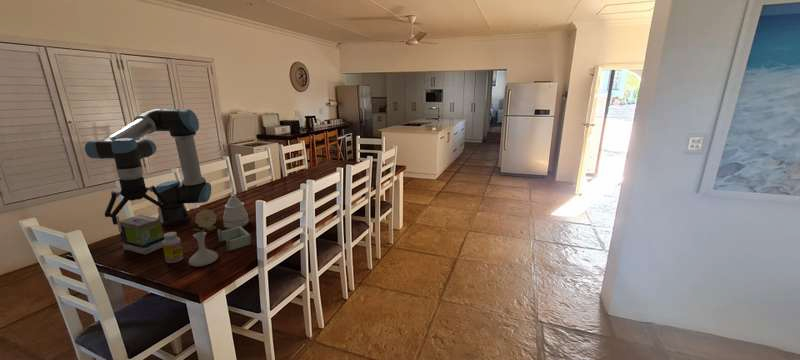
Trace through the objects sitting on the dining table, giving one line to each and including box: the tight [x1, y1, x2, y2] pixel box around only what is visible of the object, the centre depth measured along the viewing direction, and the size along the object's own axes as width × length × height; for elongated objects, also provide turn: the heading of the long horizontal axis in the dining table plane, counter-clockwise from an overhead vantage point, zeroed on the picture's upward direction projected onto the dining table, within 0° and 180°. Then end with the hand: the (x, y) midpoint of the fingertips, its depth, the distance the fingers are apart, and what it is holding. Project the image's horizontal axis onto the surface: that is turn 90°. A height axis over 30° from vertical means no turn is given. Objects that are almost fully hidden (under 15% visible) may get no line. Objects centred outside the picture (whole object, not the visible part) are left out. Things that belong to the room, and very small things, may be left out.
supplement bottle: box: [162, 231, 184, 264], centre depth 140 cm, size 7×7×13 cm
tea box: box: [119, 214, 165, 255], centre depth 149 cm, size 15×10×15 cm, turn 71°
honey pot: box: [222, 194, 250, 229], centre depth 178 cm, size 13×13×18 cm
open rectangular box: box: [217, 226, 252, 252], centre depth 158 cm, size 14×11×6 cm
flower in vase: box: [188, 209, 219, 267], centre depth 137 cm, size 13×11×25 cm
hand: (141, 226), depth 130 cm, fingers open, 13 cm apart
